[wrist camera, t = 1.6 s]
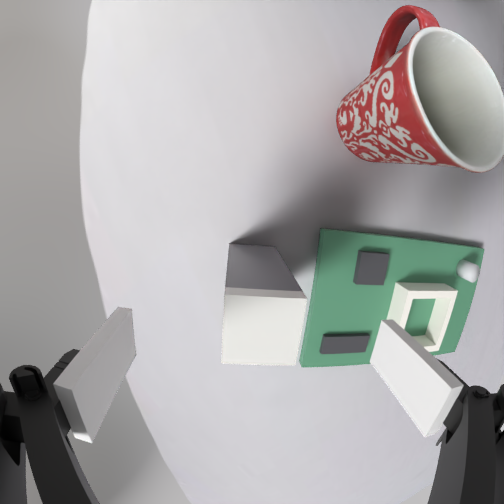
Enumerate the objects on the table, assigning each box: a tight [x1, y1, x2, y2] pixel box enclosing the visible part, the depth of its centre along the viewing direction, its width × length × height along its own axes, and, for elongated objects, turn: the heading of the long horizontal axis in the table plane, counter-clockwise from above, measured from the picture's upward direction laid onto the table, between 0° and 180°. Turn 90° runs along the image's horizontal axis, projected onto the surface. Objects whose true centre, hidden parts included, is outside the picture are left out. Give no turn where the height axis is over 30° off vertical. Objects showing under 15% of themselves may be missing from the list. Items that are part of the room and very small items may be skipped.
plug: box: [221, 243, 307, 365], centre depth 20 cm, size 4×4×12 cm
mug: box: [336, 5, 504, 173], centre depth 16 cm, size 13×9×14 cm
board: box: [299, 228, 484, 367], centre depth 26 cm, size 14×22×4 cm, turn 85°
